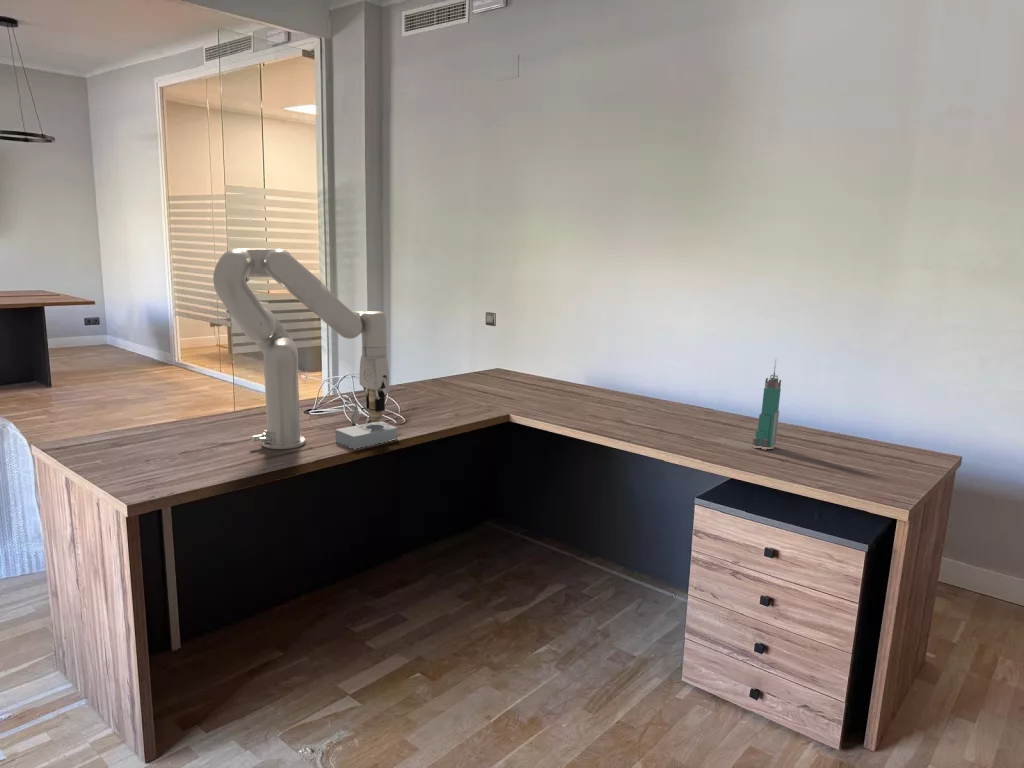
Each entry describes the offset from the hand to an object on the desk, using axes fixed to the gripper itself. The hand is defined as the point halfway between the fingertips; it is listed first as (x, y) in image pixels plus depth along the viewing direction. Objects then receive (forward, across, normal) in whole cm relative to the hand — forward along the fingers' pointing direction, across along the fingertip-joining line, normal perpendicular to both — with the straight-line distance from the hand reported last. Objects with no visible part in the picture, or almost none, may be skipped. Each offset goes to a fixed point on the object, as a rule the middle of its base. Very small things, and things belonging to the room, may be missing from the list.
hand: (375, 408), depth 220 cm
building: (+12, +85, +91) cm, 125 cm away
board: (+10, 0, -3) cm, 10 cm away
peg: (+4, 0, 0) cm, 4 cm away
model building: (+10, -26, +13) cm, 30 cm away
